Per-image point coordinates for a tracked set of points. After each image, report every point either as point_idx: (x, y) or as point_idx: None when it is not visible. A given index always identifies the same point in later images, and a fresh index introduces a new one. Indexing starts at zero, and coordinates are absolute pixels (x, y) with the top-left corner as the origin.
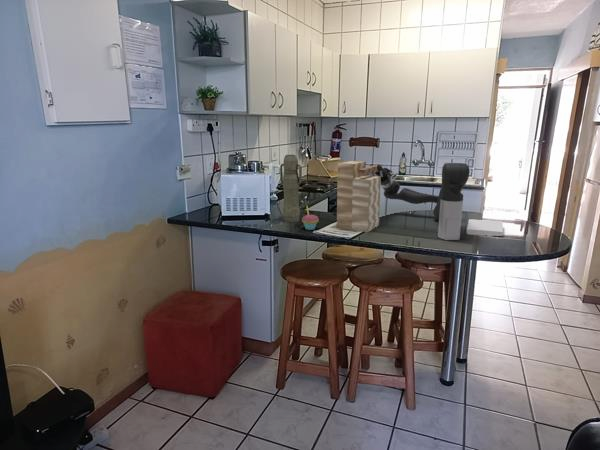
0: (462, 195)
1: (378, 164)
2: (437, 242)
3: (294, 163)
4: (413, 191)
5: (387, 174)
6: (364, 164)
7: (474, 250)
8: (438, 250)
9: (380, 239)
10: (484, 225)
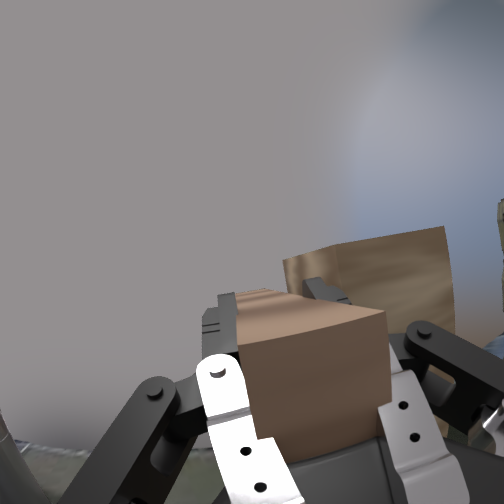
0: None
1: (224, 295)
2: (64, 481)
3: (501, 227)
4: None
5: (155, 499)
6: (326, 270)
7: (22, 454)
8: (78, 450)
9: (193, 470)
10: None
